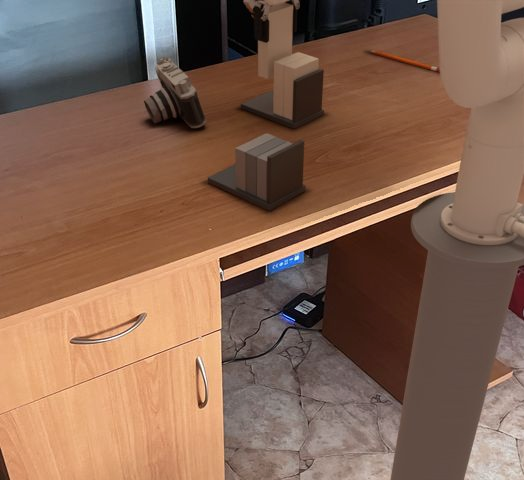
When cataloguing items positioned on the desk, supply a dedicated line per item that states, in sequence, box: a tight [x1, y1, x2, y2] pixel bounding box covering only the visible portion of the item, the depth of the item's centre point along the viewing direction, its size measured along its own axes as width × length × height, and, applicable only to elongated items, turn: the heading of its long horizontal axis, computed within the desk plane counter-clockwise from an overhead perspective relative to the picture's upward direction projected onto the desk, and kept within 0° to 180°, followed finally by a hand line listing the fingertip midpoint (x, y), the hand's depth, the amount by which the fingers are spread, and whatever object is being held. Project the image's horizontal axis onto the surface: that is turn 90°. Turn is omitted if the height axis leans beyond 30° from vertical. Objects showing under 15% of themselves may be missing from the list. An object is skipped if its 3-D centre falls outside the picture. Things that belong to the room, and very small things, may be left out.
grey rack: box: [207, 132, 306, 212], centre depth 129 cm, size 14×9×9 cm, turn 48°
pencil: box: [369, 50, 440, 73], centre depth 176 cm, size 1×19×1 cm, turn 50°
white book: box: [257, 2, 293, 80], centre depth 148 cm, size 2×7×12 cm, turn 138°
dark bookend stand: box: [240, 51, 325, 130], centre depth 152 cm, size 14×9×11 cm, turn 48°
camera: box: [143, 56, 207, 129], centre depth 150 cm, size 16×9×10 cm, turn 25°
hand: (275, 34), depth 147 cm, fingers closed on white book, 7 cm apart
